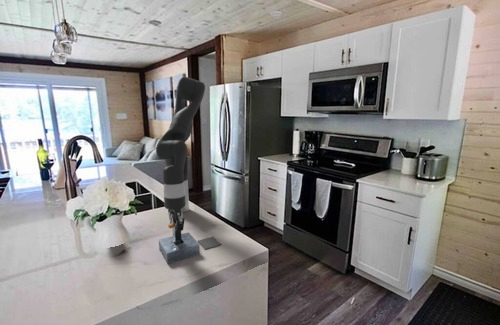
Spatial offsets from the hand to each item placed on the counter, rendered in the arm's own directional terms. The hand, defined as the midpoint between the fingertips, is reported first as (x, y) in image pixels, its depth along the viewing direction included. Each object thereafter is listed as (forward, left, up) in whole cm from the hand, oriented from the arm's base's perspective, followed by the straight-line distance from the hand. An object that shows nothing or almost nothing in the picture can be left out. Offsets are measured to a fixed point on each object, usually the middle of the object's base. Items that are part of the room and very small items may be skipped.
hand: (177, 238), depth 99 cm
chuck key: (0, 0, -4) cm, 4 cm away
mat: (0, +13, -6) cm, 14 cm away
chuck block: (0, 0, -6) cm, 6 cm away
